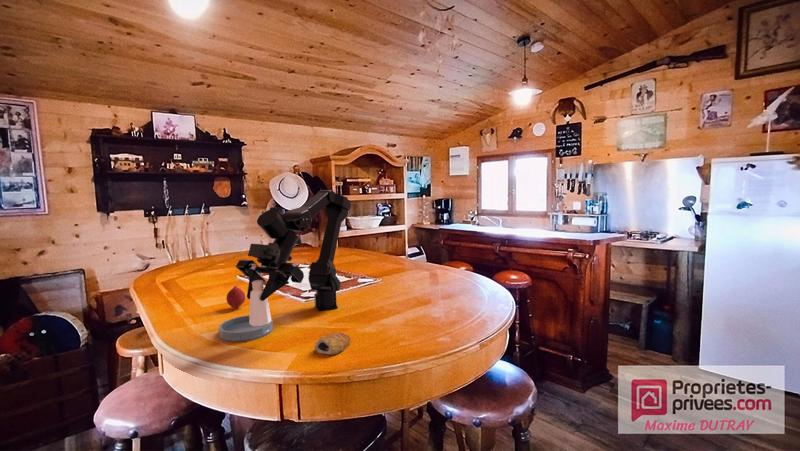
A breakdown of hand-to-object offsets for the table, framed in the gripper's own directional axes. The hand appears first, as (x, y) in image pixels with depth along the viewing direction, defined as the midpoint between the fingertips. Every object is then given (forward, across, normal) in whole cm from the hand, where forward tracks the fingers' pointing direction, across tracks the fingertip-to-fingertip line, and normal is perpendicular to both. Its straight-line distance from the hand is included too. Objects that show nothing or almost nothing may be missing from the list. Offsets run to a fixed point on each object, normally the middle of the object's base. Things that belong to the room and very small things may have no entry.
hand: (254, 299), depth 94 cm
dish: (+4, -10, +13) cm, 17 cm away
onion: (-5, -29, +24) cm, 38 cm away
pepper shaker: (+4, 0, +6) cm, 7 cm away
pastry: (+5, +19, +13) cm, 24 cm away
